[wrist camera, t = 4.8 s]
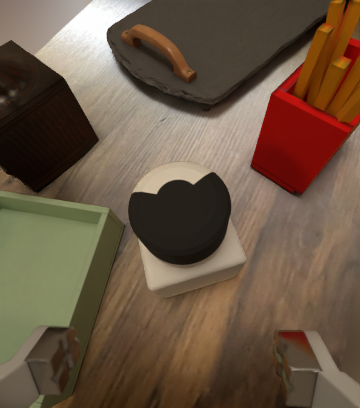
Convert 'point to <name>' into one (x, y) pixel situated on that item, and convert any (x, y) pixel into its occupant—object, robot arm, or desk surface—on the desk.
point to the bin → (52, 271)
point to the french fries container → (313, 105)
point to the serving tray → (208, 42)
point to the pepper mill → (38, 120)
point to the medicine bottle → (184, 228)
